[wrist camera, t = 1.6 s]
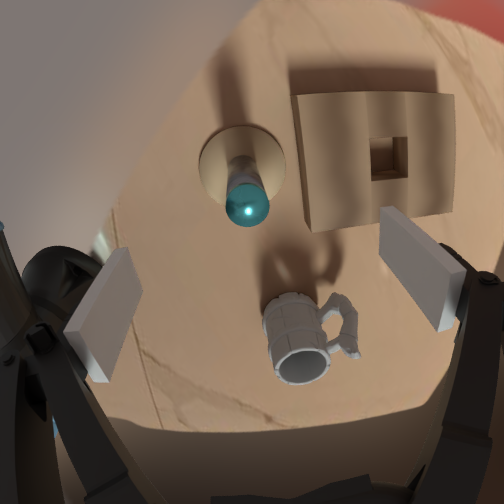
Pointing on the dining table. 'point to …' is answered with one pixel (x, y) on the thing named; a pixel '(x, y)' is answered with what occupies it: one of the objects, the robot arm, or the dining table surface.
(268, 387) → the dining table surface
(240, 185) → the peg
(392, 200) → the hole board
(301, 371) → the mug
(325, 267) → the dining table surface
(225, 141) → the coaster
